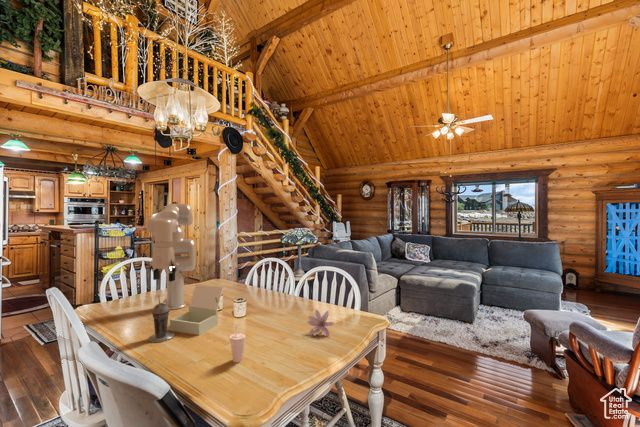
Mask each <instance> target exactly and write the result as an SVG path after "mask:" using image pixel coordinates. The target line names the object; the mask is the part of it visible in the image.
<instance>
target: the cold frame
mask: <svg viewBox="0 0 640 427" xmlns="http://www.w3.org/2000/svg"><path fill="white" fill-rule="evenodd" d="M194 285H195V286H194V289H193V291H192V296H191V299H190V303H189V306H188V311H186V312H185V313H182V314H180V315H177V316H175V317H173V318H170V320H169V332H178V333H183V334H189V335H195V336H200V335H202V334H204V333H206V332H209V330H211V329H213V328H214V327H216V326H218V325H219V324H218V323H219V322H218V320H219V318H218V315H219V313H218V311H219V310H220V308H221V307H220V302H221V298H222V293H223V290H224V287H223V286H214V285H206V284H205V285H202V284H194Z"/></svg>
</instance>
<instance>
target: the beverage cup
mask: <svg viewBox="0 0 640 427" xmlns="http://www.w3.org/2000/svg"><path fill="white" fill-rule="evenodd" d="M157 297H158V298H157V299H158V304H156V305H154V307H153V309H152V318H153V324H154V334H155V335H156V338H163V337H165V336H166V334H167V332H168V323H169V315H170V310H169V307H168V306H167V305H166V303H162V302H161V298H160V294H158V295H157Z"/></svg>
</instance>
